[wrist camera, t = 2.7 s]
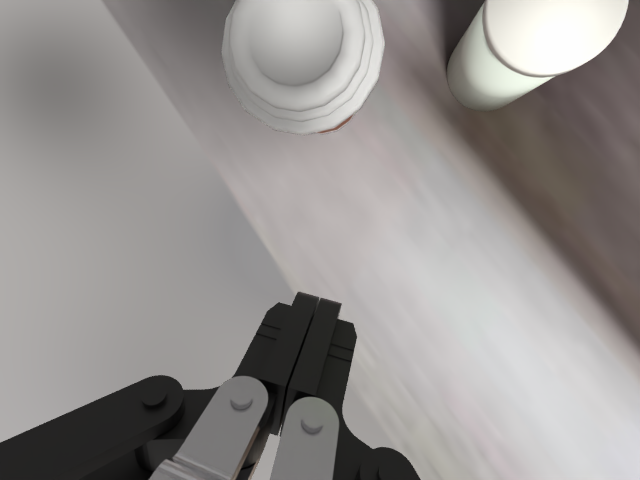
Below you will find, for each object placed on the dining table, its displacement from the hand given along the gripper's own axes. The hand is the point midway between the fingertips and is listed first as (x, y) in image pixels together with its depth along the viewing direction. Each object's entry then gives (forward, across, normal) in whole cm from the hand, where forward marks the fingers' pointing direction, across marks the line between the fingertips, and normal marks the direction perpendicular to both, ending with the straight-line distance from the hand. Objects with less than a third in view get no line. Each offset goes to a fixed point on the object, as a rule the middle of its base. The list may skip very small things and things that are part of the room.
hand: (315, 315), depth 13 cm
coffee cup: (+23, +5, -2) cm, 23 cm away
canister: (+25, -7, -6) cm, 26 cm away
